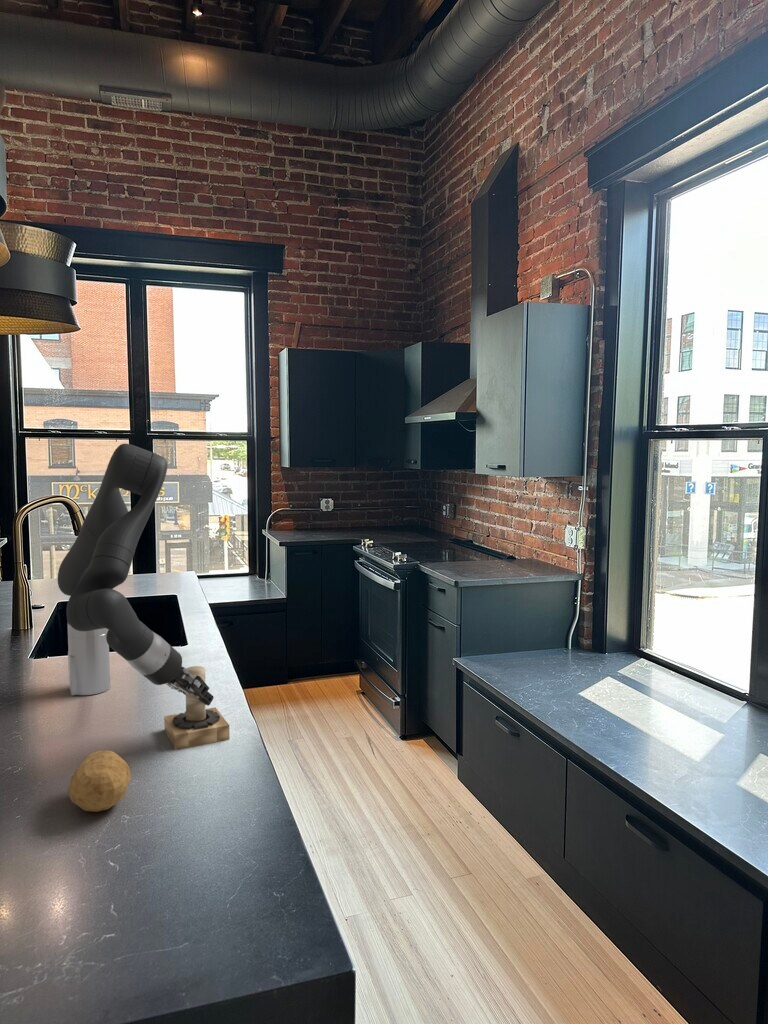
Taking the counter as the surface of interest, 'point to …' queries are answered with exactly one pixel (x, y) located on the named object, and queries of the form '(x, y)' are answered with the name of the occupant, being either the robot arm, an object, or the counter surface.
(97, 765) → the potato
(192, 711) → the dowel
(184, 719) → the socket
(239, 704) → the counter surface
